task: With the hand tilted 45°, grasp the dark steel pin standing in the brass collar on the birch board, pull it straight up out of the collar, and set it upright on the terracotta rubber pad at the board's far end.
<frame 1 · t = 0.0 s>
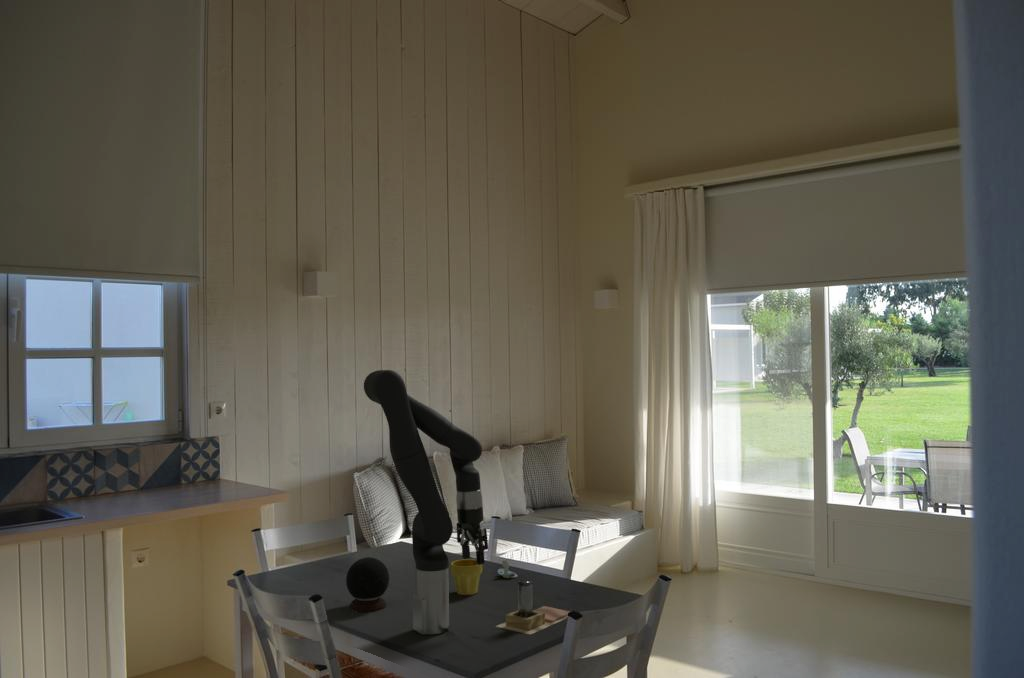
hand: (473, 561, 233), 17 cm above the table, tool pointing down, fingers open, 8 cm apart
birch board: (525, 629, 225), on the table
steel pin: (525, 624, 225), point 1 cm above the table, touching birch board
black ball on stand: (367, 607, 248), on the table
pacifier: (508, 577, 283), on the table
plant pot: (466, 593, 263), on the table
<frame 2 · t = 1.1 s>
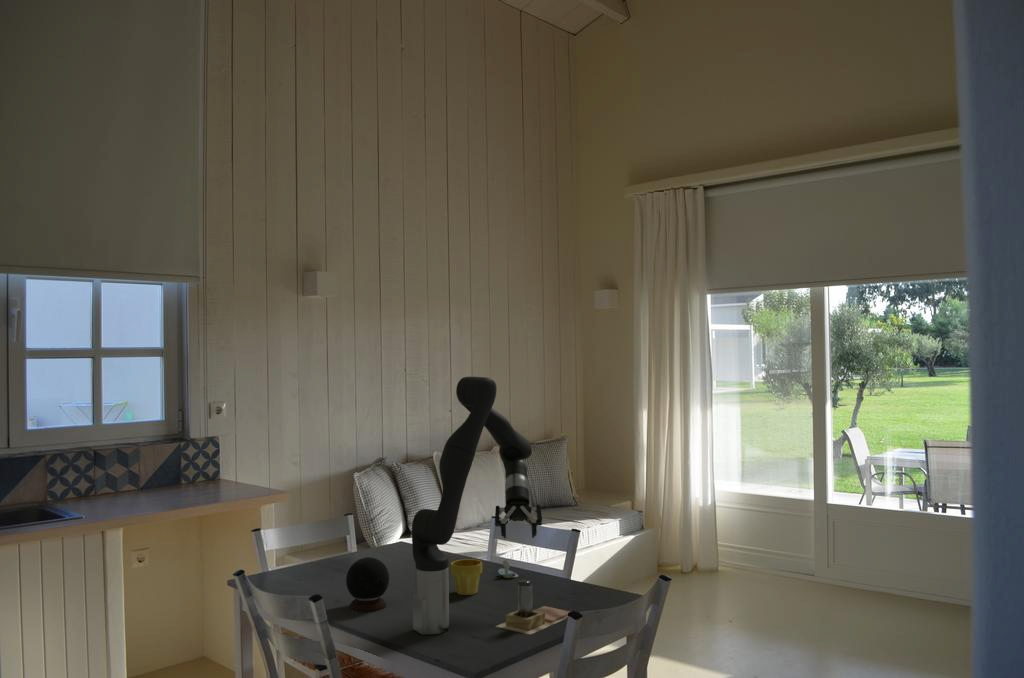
hand: (519, 536, 240), 23 cm above the table, tool tilted 45°, fingers open, 8 cm apart
nothing on the table moved.
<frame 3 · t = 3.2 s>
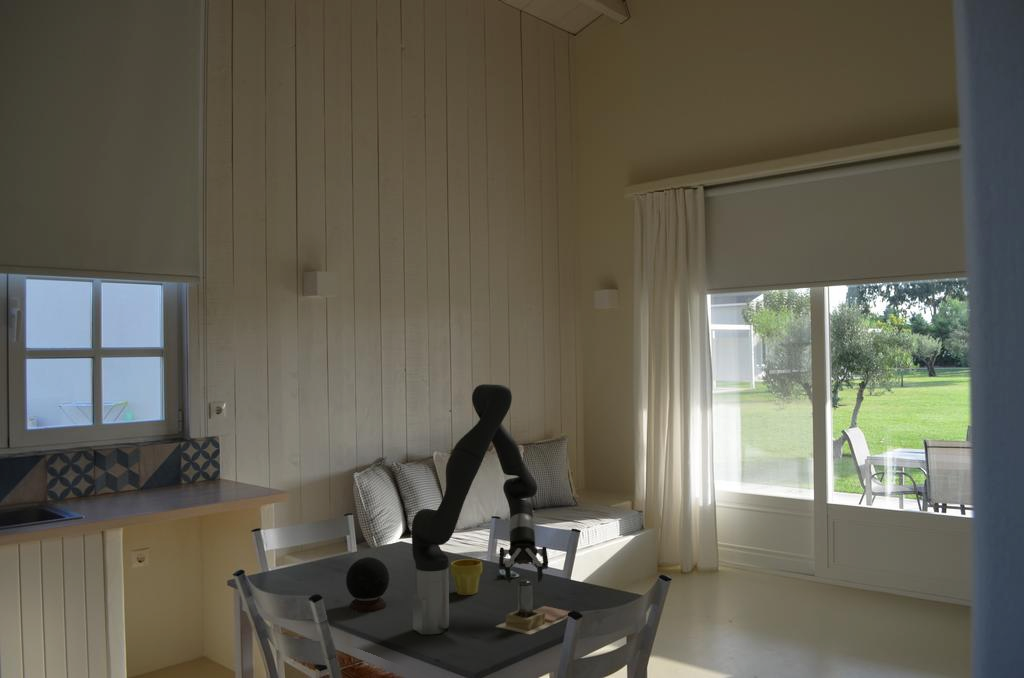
hand: (524, 581, 230), 12 cm above the table, tool tilted 45°, fingers open, 8 cm apart
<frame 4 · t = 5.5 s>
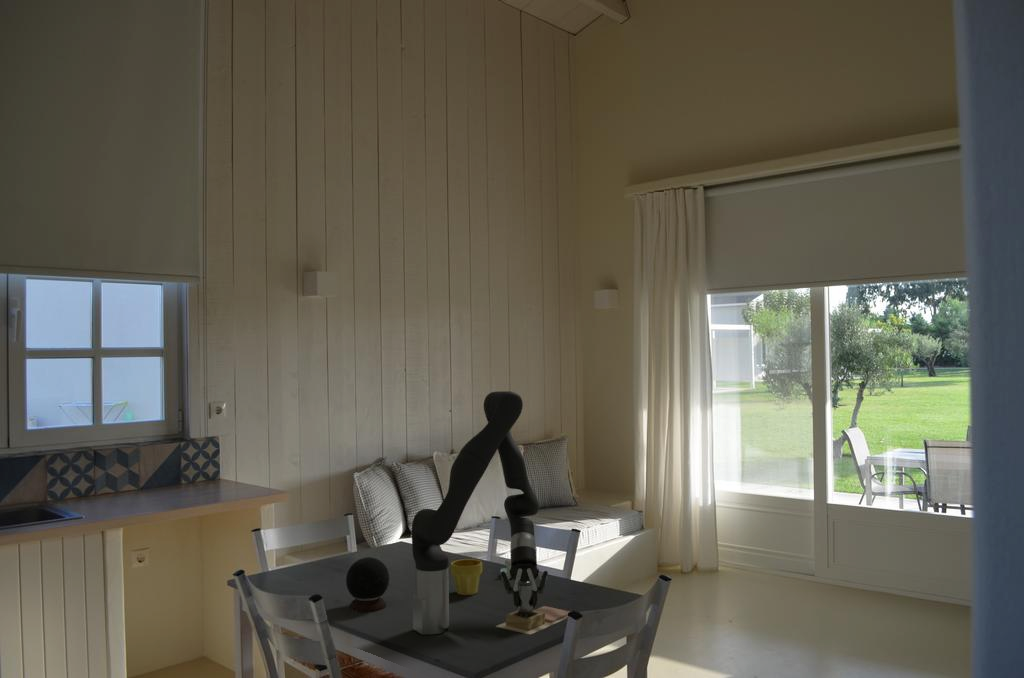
hand: (525, 605, 224), 7 cm above the table, tool tilted 45°, fingers closed on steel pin, 4 cm apart
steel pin: (525, 624, 225), point 1 cm above the table, touching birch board, gripper
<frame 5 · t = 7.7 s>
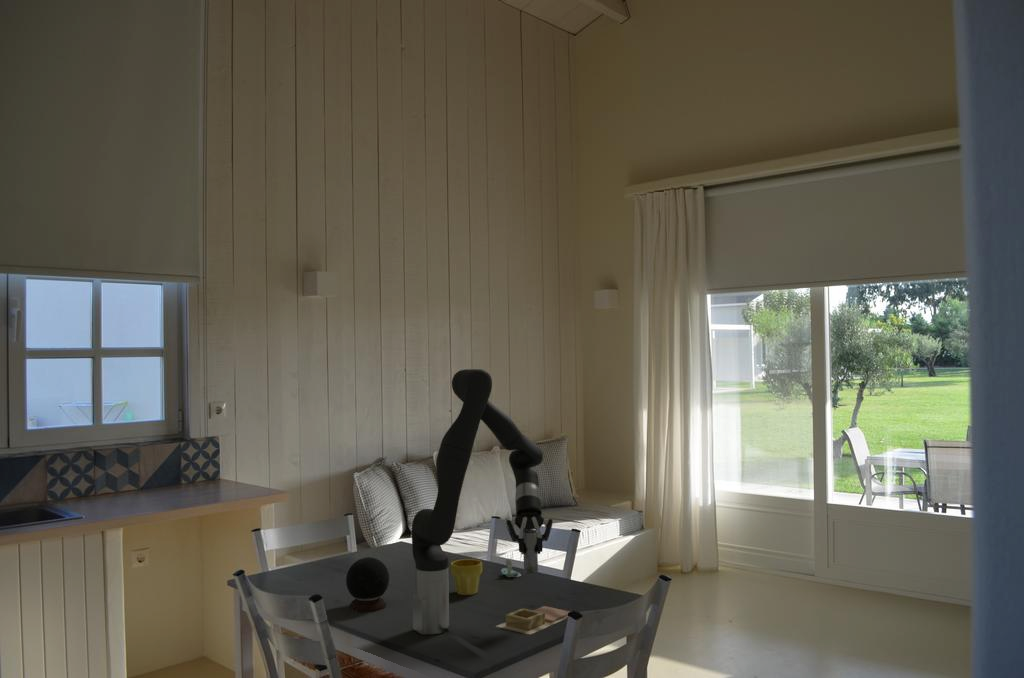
hand: (531, 552, 226), 21 cm above the table, tool tilted 45°, fingers closed on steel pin, 4 cm apart
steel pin: (530, 571, 228), point 15 cm above the table, touching gripper
when the fingers open (9 cm above the table, at t = 10.3 s): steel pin stays where it is, resting on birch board.
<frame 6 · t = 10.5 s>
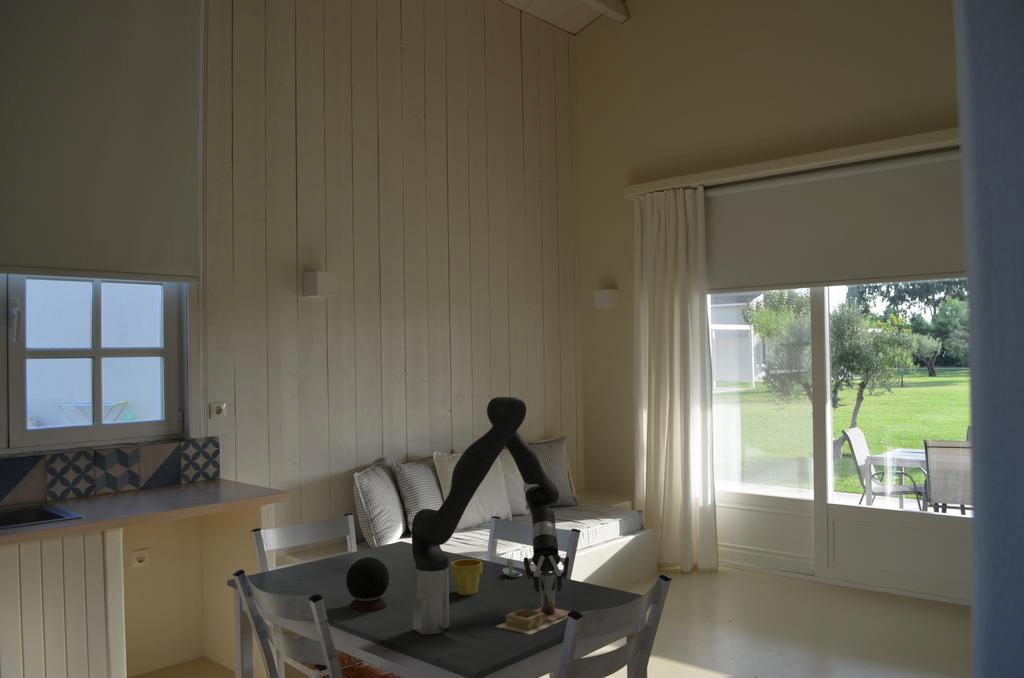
hand: (548, 590, 232), 9 cm above the table, tool tilted 45°, fingers open, 5 cm apart
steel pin: (548, 612, 234), point 2 cm above the table, touching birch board
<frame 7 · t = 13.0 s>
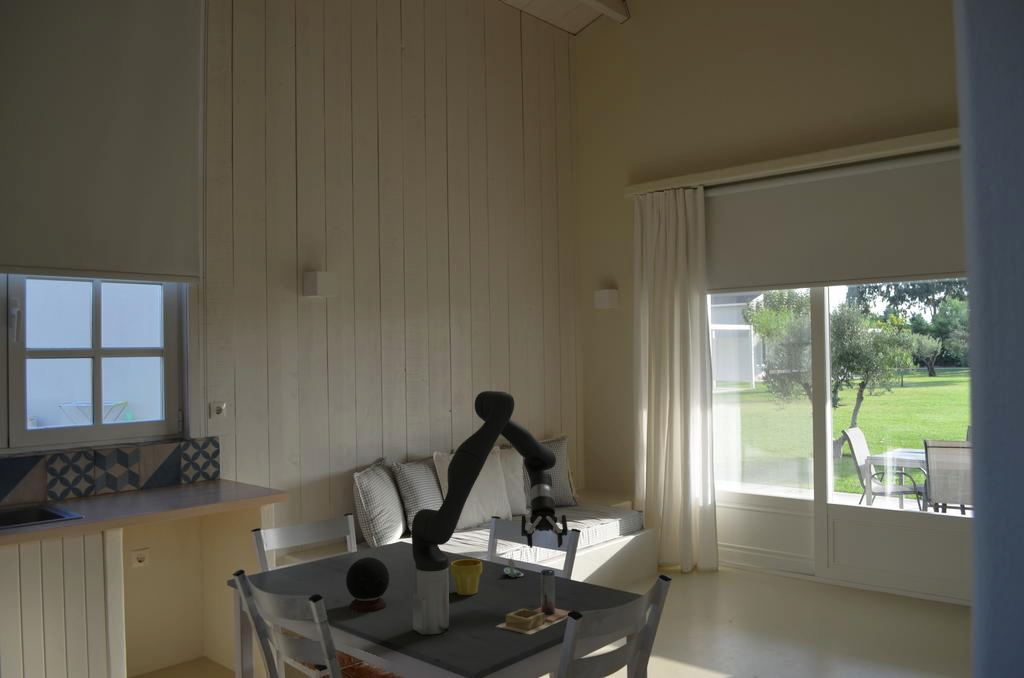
hand: (545, 546, 243), 19 cm above the table, tool tilted 45°, fingers open, 8 cm apart
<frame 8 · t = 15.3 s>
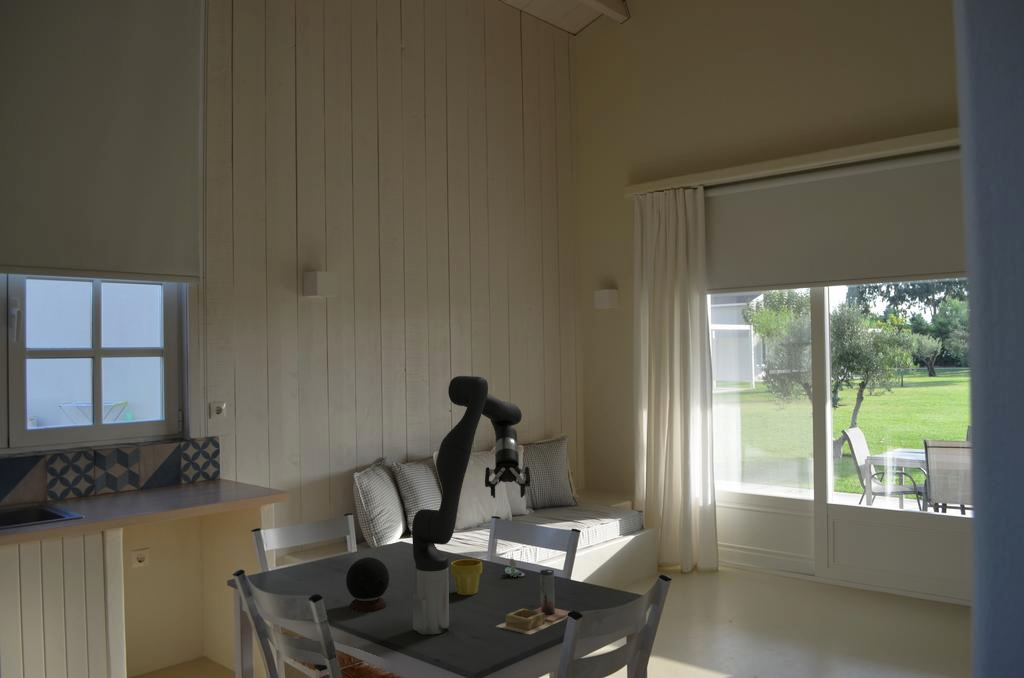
hand: (508, 496, 248), 34 cm above the table, tool tilted 45°, fingers open, 8 cm apart
at the end: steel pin inside the target area on the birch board (0.1 cm from its centre), point 1.8 cm above the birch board's base; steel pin tilted 1°; the gripper is holding nothing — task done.
